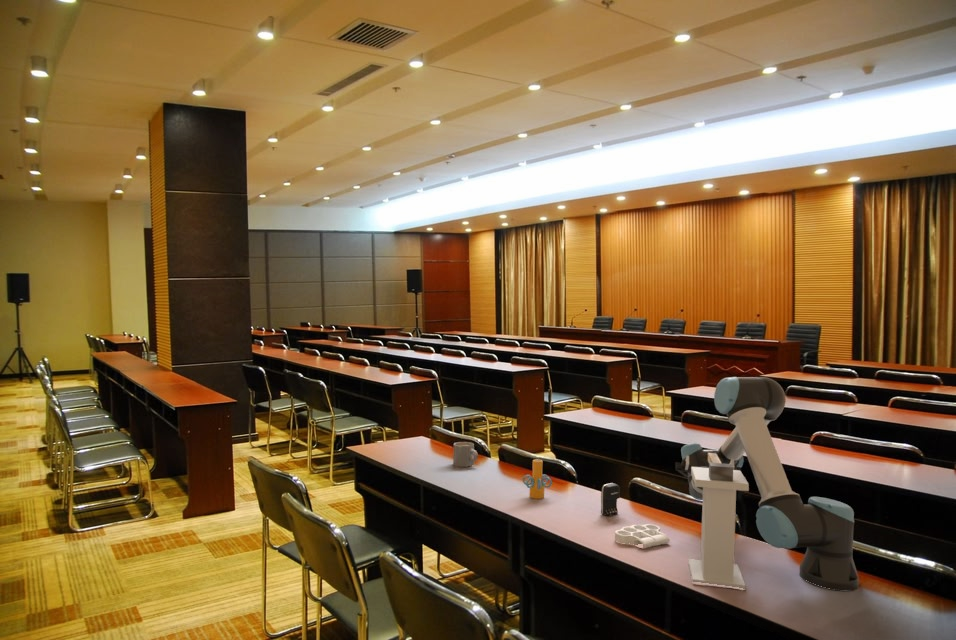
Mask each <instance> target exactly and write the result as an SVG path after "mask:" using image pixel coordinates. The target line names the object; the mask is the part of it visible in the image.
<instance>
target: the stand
mask: <svg viewBox="0 0 956 640" xmlns="http://www.w3.org/2000/svg"><path fill="white" fill-rule="evenodd" d="M691 474H692V477H693V480H694V484H695V487H703V500H702V505H701V506H702V510H701V511H702V512H701V537H700V539H701V543H700V544H701V545H700V547H701V548H700V559H692V558H688V562H689V564H688V568H689V567H690V569H689V573H690V572H691V574H690V577H691V576H692V579H691V582H692V581H693V582H701V583H709V584H717V585H725V586H732V587H739V588H743V589H745V590H746V583H745V581H744V578H743V575H742V573H741V569H740V568H739V565H738V564H737V563H735V540H736V539H735V537H736V508H737V507H736V505H737V504H736V501H737V491H741V492H742V491H744V492H749V490H750V488H749V486H750V485H749V484H750V483H749V482H748V481H747V479H746V477H745V476H744V474H743V473H742V470H741V471H740V470H733V482H730V481H718V480H710V478H709V468H702V467H691Z"/></svg>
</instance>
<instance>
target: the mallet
mask: <svg viewBox="0 0 956 640" xmlns="http://www.w3.org/2000/svg"><path fill="white" fill-rule="evenodd" d="M708 462H709V478H710V480H718V481H730V482H733V466H732V465H731V464H723V463H721V461H720V459H719V458H718V456H717V454H716V453H708Z"/></svg>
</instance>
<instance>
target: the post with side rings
mask: <svg viewBox="0 0 956 640" xmlns="http://www.w3.org/2000/svg"><path fill="white" fill-rule="evenodd" d="M526 478H527V479H526ZM525 479H526V480H525ZM529 481H530V482H529ZM544 481H545V482H544ZM548 481H549V484H548V485H547V483H548ZM522 483H523V484H524V485H525V486H526V487H527V488H529V498H531V499H534V500H541V499H544V497H545V488H550V487H551V486H552V484H553V481H552V479H551V478H550V477H549V476H548V475H547V474H543V460H542V459H533V460H532V476H531V475H530V474H526V475H524V476H523V477H522Z"/></svg>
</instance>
